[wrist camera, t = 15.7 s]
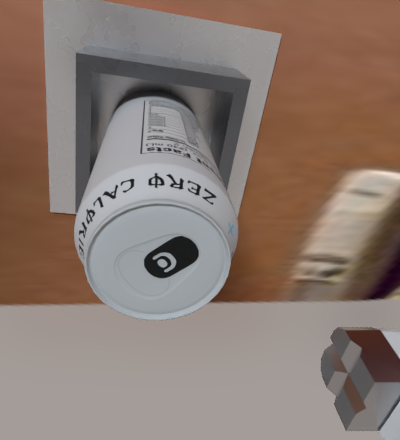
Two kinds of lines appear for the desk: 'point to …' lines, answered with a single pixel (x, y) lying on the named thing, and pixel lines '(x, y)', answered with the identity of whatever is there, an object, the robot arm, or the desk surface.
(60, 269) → the desk surface
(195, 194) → the energy drink can
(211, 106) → the socket
